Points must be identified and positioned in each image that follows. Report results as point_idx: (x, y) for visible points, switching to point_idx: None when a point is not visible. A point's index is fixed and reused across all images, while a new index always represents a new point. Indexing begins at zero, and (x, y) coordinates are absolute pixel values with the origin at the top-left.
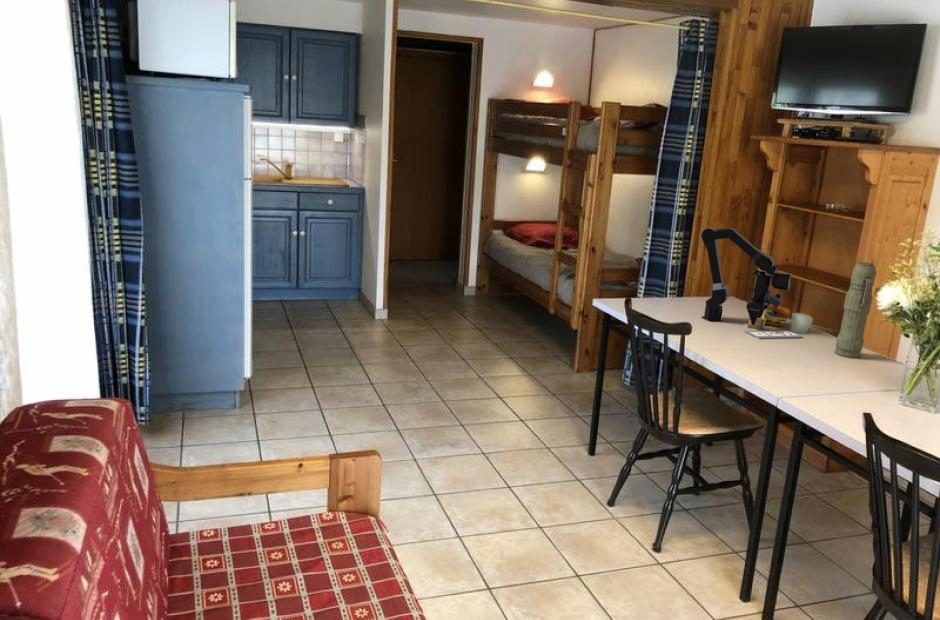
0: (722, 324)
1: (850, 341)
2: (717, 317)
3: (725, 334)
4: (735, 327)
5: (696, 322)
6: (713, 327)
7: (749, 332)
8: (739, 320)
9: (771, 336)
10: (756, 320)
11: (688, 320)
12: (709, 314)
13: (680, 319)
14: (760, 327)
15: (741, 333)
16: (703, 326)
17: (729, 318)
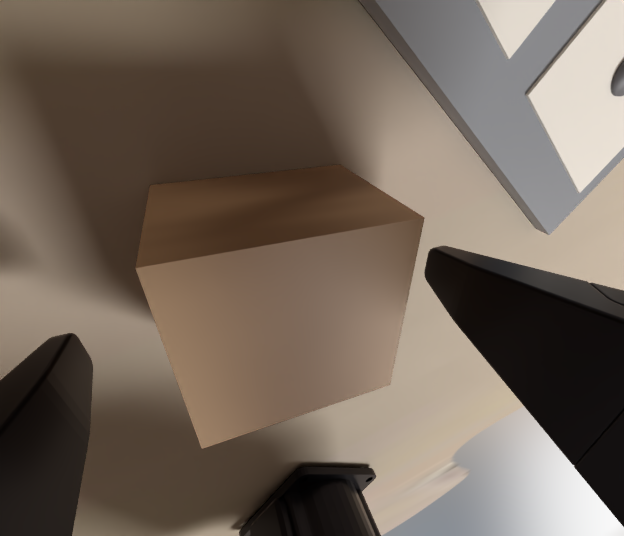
0: (383, 418)
1: None
2: (341, 500)
3: (617, 281)
4: (406, 346)
5: (435, 462)
6: (490, 389)
7: (580, 189)
8: (87, 479)
9: None
10: (404, 294)
11: (421, 486)
12: (377, 528)
13: (425, 497)
14: (337, 178)
15: (567, 234)
16: (495, 412)
17: (124, 522)
